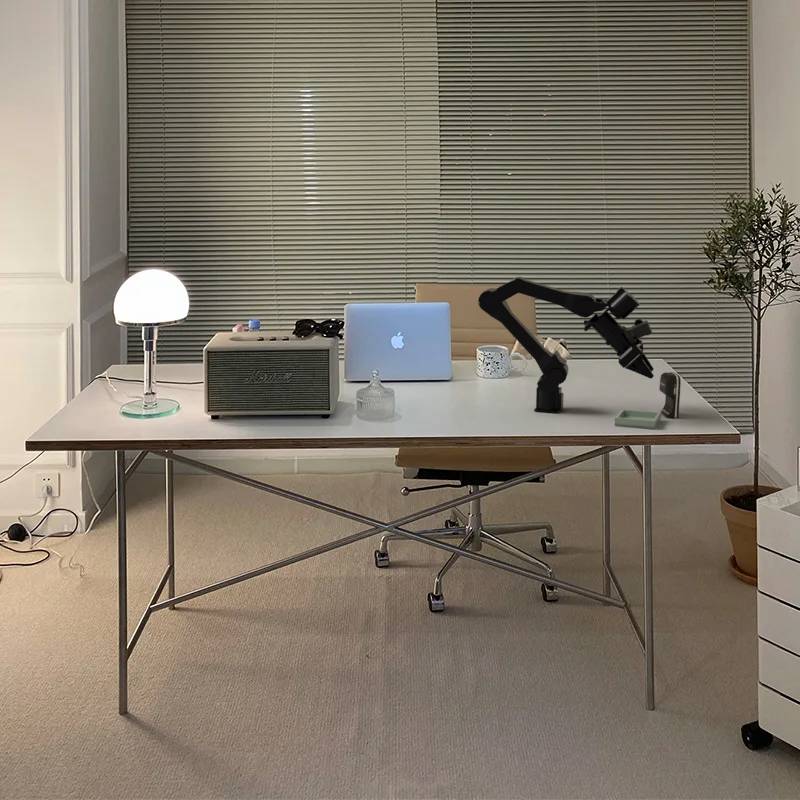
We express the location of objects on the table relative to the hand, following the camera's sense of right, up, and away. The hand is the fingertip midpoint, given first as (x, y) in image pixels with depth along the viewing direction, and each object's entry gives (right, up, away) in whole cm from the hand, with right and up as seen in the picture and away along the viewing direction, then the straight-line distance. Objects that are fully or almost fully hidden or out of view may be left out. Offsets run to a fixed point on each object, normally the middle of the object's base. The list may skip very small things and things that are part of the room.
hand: (652, 374), depth 275 cm
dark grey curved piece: (+4, -11, +2) cm, 12 cm away
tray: (-5, -13, -6) cm, 15 cm away
